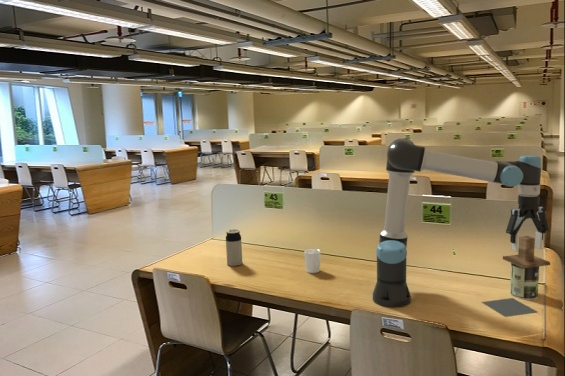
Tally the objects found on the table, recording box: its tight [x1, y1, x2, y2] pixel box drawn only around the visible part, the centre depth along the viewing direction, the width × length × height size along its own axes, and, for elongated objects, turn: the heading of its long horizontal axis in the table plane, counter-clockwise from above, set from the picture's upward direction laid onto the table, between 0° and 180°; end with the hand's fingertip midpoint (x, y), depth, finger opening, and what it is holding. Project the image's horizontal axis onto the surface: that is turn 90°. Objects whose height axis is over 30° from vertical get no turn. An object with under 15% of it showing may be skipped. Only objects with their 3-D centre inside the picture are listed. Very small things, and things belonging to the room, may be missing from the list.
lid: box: [502, 235, 551, 268], centre depth 186 cm, size 12×12×10 cm
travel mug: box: [225, 228, 243, 267], centre depth 241 cm, size 8×8×18 cm
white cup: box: [303, 248, 321, 274], centre depth 227 cm, size 8×8×10 cm
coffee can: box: [509, 263, 540, 301], centre depth 187 cm, size 10×10×14 cm
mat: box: [481, 297, 538, 318], centre depth 177 cm, size 14×14×1 cm
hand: (526, 249), depth 186 cm, fingers open, 10 cm apart
